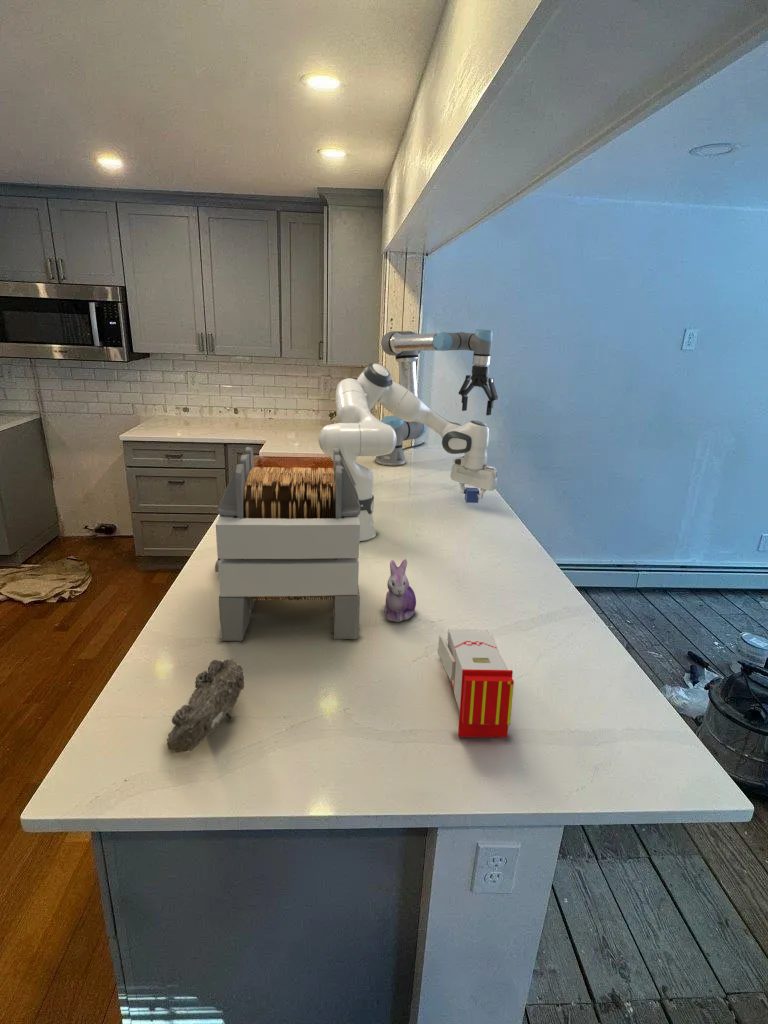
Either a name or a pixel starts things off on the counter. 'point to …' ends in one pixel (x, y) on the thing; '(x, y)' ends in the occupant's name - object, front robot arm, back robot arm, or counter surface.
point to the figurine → (399, 594)
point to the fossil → (206, 705)
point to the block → (471, 495)
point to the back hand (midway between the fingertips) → (476, 412)
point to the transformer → (288, 542)
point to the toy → (478, 682)
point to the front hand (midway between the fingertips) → (471, 495)
